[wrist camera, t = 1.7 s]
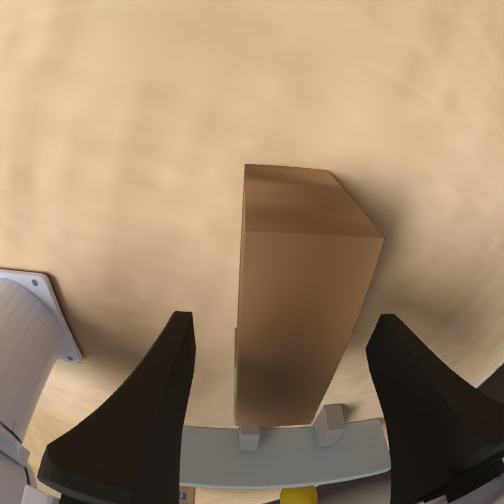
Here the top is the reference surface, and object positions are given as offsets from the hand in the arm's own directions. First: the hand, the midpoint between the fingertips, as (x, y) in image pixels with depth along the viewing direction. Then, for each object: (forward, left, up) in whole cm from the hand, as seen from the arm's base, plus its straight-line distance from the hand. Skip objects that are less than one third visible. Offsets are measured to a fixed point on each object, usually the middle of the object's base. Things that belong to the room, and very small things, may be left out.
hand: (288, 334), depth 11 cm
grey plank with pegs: (+3, -16, -4) cm, 17 cm away
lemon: (+8, -39, -5) cm, 40 cm away
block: (0, 0, -5) cm, 5 cm away
